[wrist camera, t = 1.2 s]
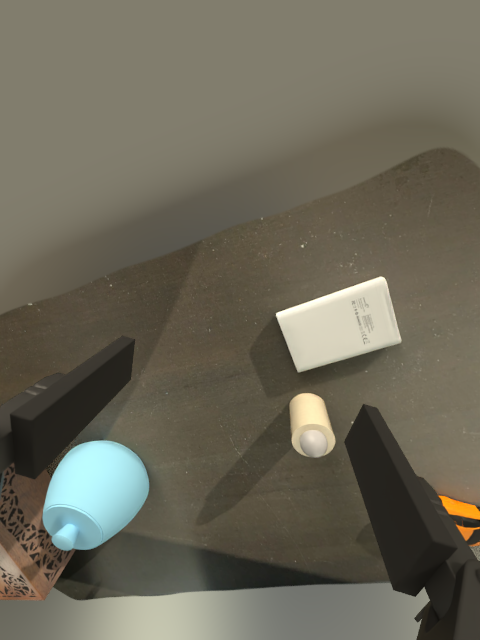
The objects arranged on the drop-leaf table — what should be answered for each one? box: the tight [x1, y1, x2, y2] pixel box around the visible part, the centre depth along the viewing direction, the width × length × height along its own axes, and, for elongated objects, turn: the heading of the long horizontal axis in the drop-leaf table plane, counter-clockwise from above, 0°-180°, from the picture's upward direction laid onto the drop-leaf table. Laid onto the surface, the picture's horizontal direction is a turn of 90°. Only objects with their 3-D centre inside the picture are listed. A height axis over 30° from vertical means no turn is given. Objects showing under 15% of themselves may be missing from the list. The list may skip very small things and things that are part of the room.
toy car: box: [438, 496, 480, 546], centre depth 37 cm, size 12×12×3 cm
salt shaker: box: [289, 393, 335, 458], centre depth 32 cm, size 5×5×8 cm
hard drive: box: [276, 277, 401, 373], centre depth 31 cm, size 2×8×12 cm
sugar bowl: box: [43, 440, 149, 551], centre depth 39 cm, size 15×15×12 cm
